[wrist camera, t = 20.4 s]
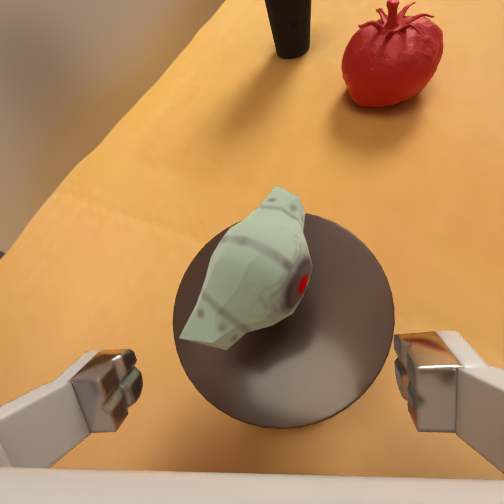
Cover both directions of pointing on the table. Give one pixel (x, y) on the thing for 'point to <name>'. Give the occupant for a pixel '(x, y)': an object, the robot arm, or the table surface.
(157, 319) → the table surface
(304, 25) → the drinking cup
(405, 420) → the table surface
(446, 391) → the robot arm
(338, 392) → the brown round base
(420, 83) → the red tomato
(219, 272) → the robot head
